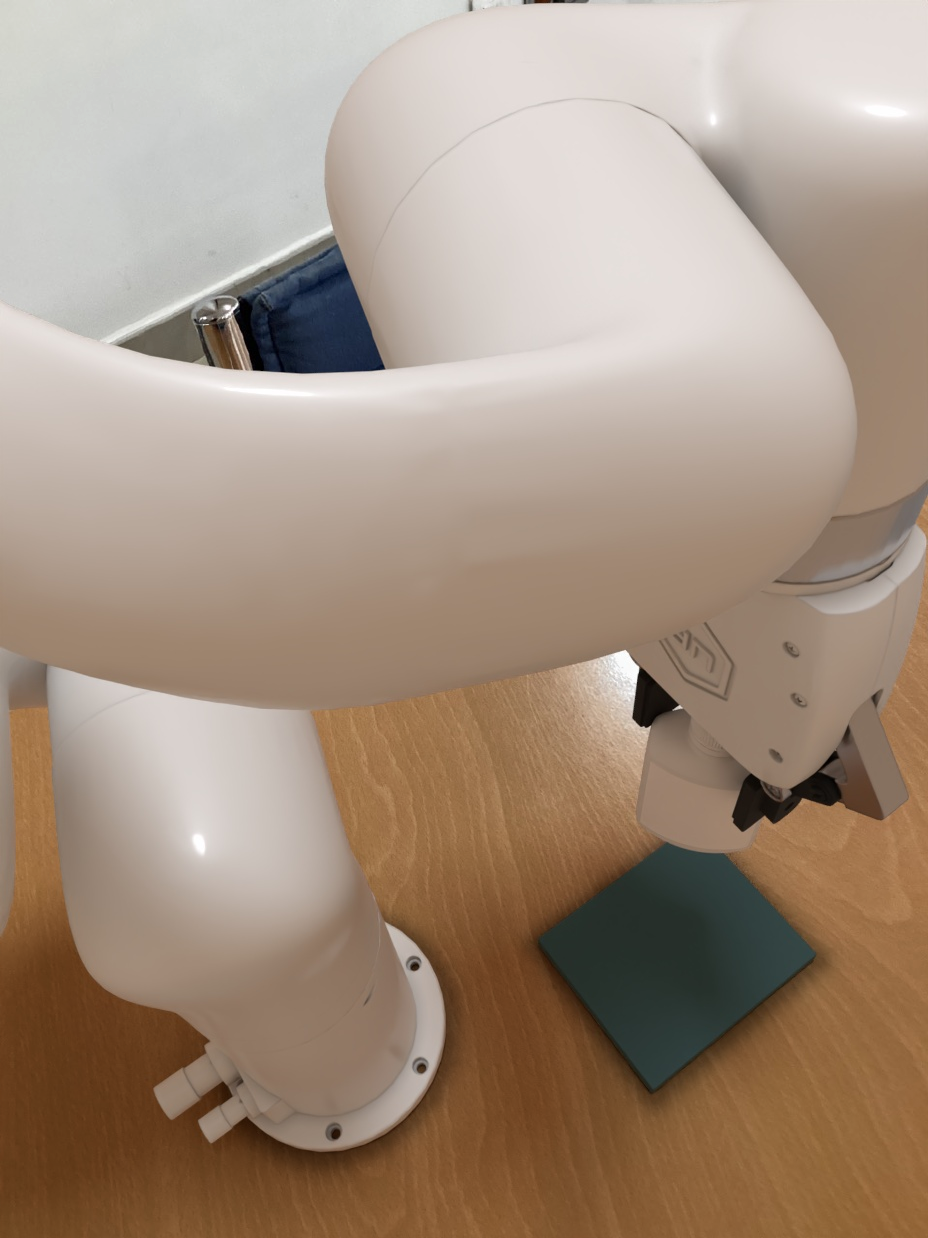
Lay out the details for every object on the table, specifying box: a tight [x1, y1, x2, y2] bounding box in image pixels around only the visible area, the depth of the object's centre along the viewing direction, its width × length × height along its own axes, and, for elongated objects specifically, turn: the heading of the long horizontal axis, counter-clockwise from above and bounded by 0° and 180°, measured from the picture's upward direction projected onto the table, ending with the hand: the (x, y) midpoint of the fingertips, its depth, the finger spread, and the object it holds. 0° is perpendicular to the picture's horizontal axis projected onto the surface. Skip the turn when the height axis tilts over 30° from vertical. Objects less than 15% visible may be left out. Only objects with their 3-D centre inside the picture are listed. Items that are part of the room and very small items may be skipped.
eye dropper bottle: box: [635, 708, 765, 854], centre depth 46 cm, size 4×6×12 cm
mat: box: [537, 842, 818, 1094], centre depth 60 cm, size 12×10×1 cm
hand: (712, 753), depth 45 cm, fingers closed on eye dropper bottle, 5 cm apart
